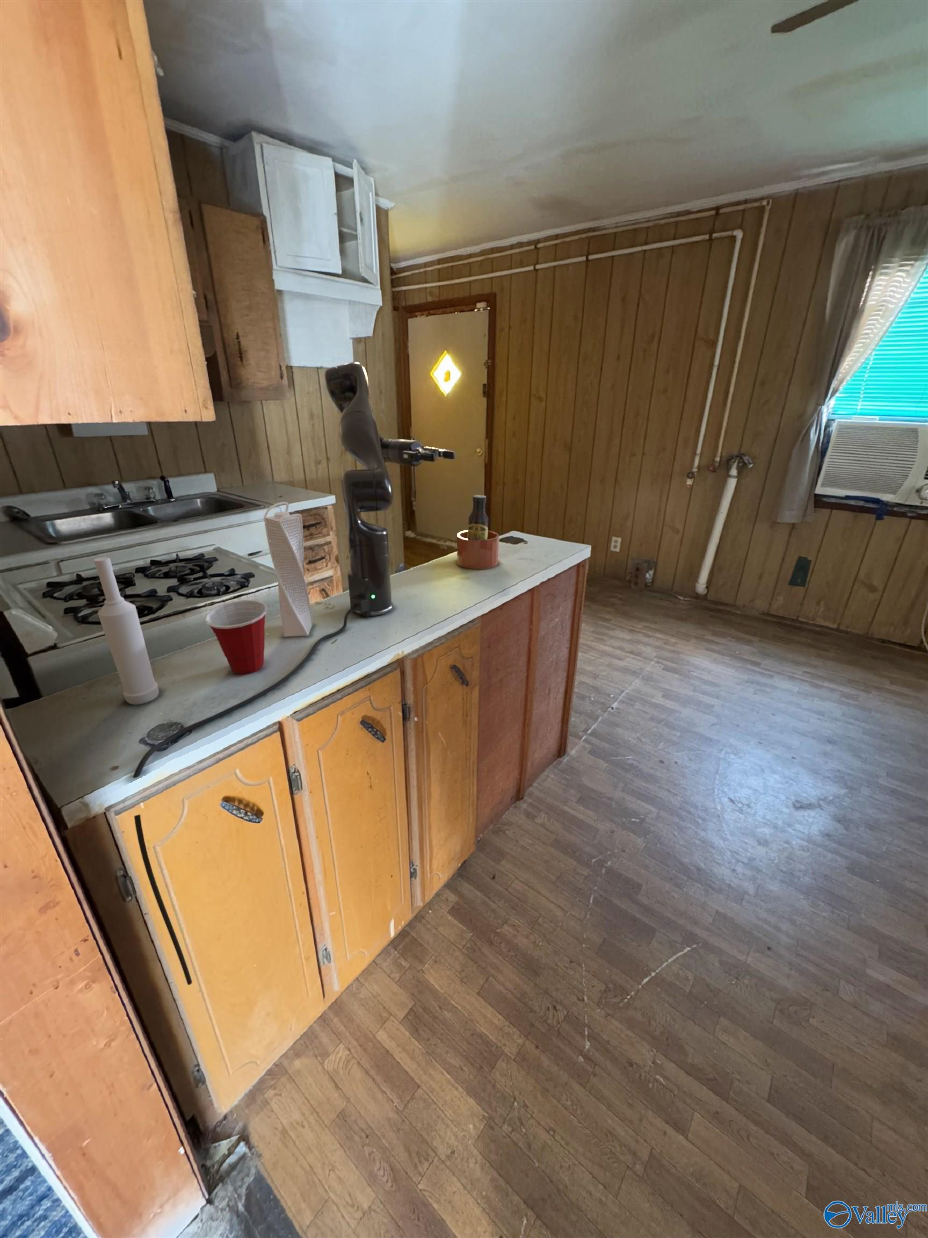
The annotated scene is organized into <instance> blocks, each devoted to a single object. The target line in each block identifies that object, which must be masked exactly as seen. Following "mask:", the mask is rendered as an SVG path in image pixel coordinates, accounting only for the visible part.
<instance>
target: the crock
mask: <svg viewBox="0 0 928 1238" xmlns="http://www.w3.org/2000/svg"><path fill="white" fill-rule="evenodd" d="M467 534H468V530H463V531H460V532H458V533H457V536H456V550H457V551H456V561H457V562H456V563H457V565H458V566H459V567H461V568H464V569H469V570H486V569H492V568H495V567H496V566H498V564H499V543H500V542H499V541H500V534H499V533H497V532H495V531H493V530H488V535H487V540H471V539H467Z"/></svg>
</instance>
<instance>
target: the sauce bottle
mask: <svg viewBox="0 0 928 1238" xmlns="http://www.w3.org/2000/svg"><path fill="white" fill-rule="evenodd" d="M486 502H487V496H486V495H483V494H475V495H473V496H472V510H471V512H470V514H469V516H468V523H467V531H468V534H467V539H471V540H487V535H488V531H489V516H488V515H487V512H486Z"/></svg>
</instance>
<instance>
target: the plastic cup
mask: <svg viewBox="0 0 928 1238" xmlns="http://www.w3.org/2000/svg"><path fill="white" fill-rule="evenodd" d="M267 610H268V606H267V604H266V603H264V602H263V601H260V600H256V599H240V600H232V601H230V602H226V603H223V604H220V605H218V606H216V607H214V608H212V609H211V610H209V612H207V613H206V614H205V615H204V618H203V620H204V622H205V623H206V624H207V626H208V627H210V629H211V630H212V632H213V634H214V636H215V637H216V639H217V641H218V644H219V646H220V648H221V651H222V652H223V655H224V657H225V658H226V660H227V663H228V665H229V667H230V669H231V671H232V673H234V674H237V675H249V674H252V673H256V672H258V671H259V670H261V669H262V668H263V667H264V663H265V624H266V615H267V612H268V611H267Z"/></svg>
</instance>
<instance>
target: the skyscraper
mask: <svg viewBox="0 0 928 1238" xmlns="http://www.w3.org/2000/svg"><path fill="white" fill-rule="evenodd" d="M283 505H285V511H277V512H274V515H272V516H271V515H270V516H268V514H269V512H270V511H271V510H272V509H274V508H275V507H278V506H283ZM289 505H290V503H289V502H287V501H280V502H276V503H274V504H272V505H271V506H269V507H268V508H267V509H266V511H265V513H264V516H263V520H264V521H263V523H264V527H265V533H266V539H267V544H268V549H269V555H270V558H271V562H272V565H273V568H274V571H275V574H276V577H277V589H278V601H279V609H280V611H279V612H280V617H281V624H282V625H281V626H282V633H283V638H286V637H309V634H310V632H311V629H312V628H313V626H314V623H313V616H312V608H311V600H310V595H309V591H308V585H307V582H306V578H305V574H304V571H303V569H304V558H305V557H304V556H305V547H304V546H305V543H304V542H305V541H304V540H305V539H304V528H303V517H302V514H301V513H293V514H290V512H289Z"/></svg>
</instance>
